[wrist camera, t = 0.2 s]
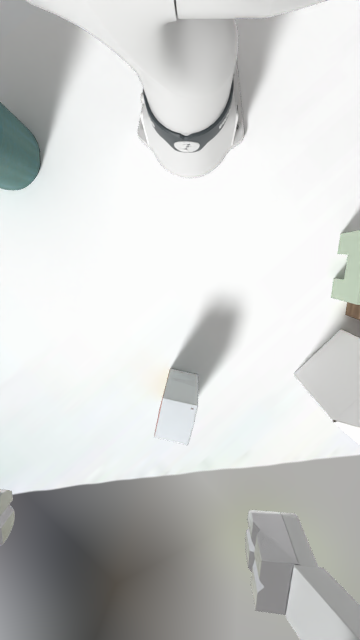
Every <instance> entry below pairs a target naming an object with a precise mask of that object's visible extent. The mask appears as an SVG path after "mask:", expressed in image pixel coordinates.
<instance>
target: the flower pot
mask: <svg viewBox="0 0 360 640" xmlns="http://www.w3.org/2000/svg"><path fill="white" fill-rule="evenodd" d="M39 152H40V150H39V146H38V143H37V141H36V139H35V137H34V136H33V134H32V133H31V132H30V131H29V129H28V128H26V127H25V126H24V125H23V124H22V123H21V122H20V121H19V120H18V119H17V118H16V117H15V116H14V115H13V114H12V113H11V112H10V111H9V110H8V109H7V108H6V107H5V106H4V105H3V104H2V103H1V102H0V188H1V189H6V190H20V189H23V188H25V187H27V186H28V185H29V184H30V183H31V182H32V181H33V180H34V179H35V177H36V176H37V174H38V171H39V168H40V160H39Z"/></svg>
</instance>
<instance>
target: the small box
mask: <svg viewBox="0 0 360 640" xmlns="http://www.w3.org/2000/svg"><path fill="white" fill-rule="evenodd" d="M197 408H198V375H197V374H193V373H188V372H184V371H179V370H175V369H170V371H169V375H168V378H167V383H166V386H165V390H164V394H163V398H162V401H161V406H160V410H159V415H158V420H157V425H156V429H155V434H154V437H155V438H159V439H163V440H167V441H172V442H176V443H180V444H184V445H188V444H189V440H190V437H191V433H192V429H193V426H194V422H195V417H196V412H197Z"/></svg>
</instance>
